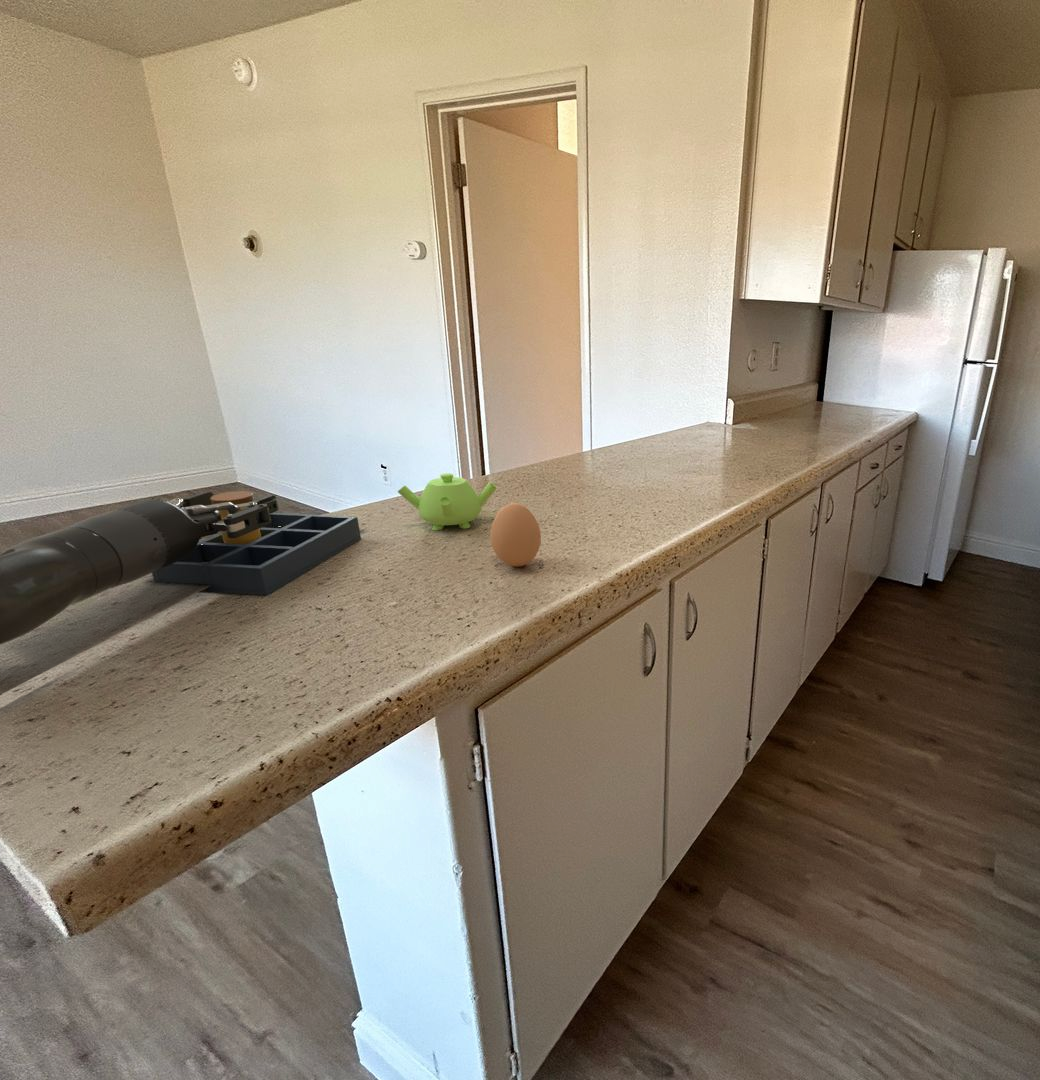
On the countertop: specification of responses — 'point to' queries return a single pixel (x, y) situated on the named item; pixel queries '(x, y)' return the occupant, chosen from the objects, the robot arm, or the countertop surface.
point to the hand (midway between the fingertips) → (242, 500)
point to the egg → (515, 535)
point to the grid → (264, 555)
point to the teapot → (448, 501)
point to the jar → (236, 499)
